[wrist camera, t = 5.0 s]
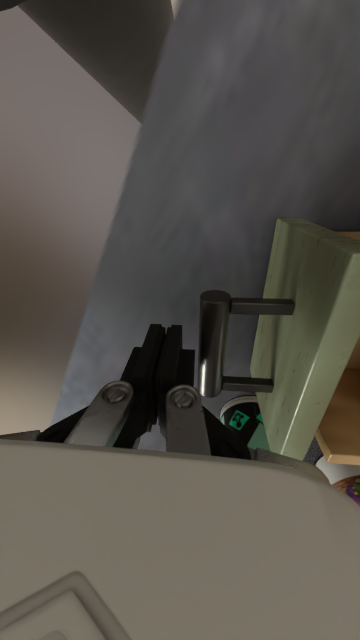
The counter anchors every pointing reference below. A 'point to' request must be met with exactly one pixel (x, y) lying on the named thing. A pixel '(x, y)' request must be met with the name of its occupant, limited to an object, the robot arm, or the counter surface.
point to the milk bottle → (342, 477)
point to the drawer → (297, 342)
